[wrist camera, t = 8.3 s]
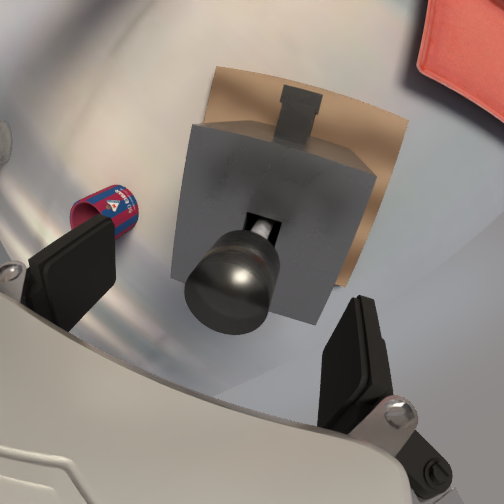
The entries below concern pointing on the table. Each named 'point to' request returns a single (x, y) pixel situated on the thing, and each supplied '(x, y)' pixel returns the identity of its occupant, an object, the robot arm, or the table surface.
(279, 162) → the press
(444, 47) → the plant saucer
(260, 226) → the plunger
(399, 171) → the table surface
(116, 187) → the mug
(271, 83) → the board
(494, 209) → the table surface
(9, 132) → the grey and black pitcher
